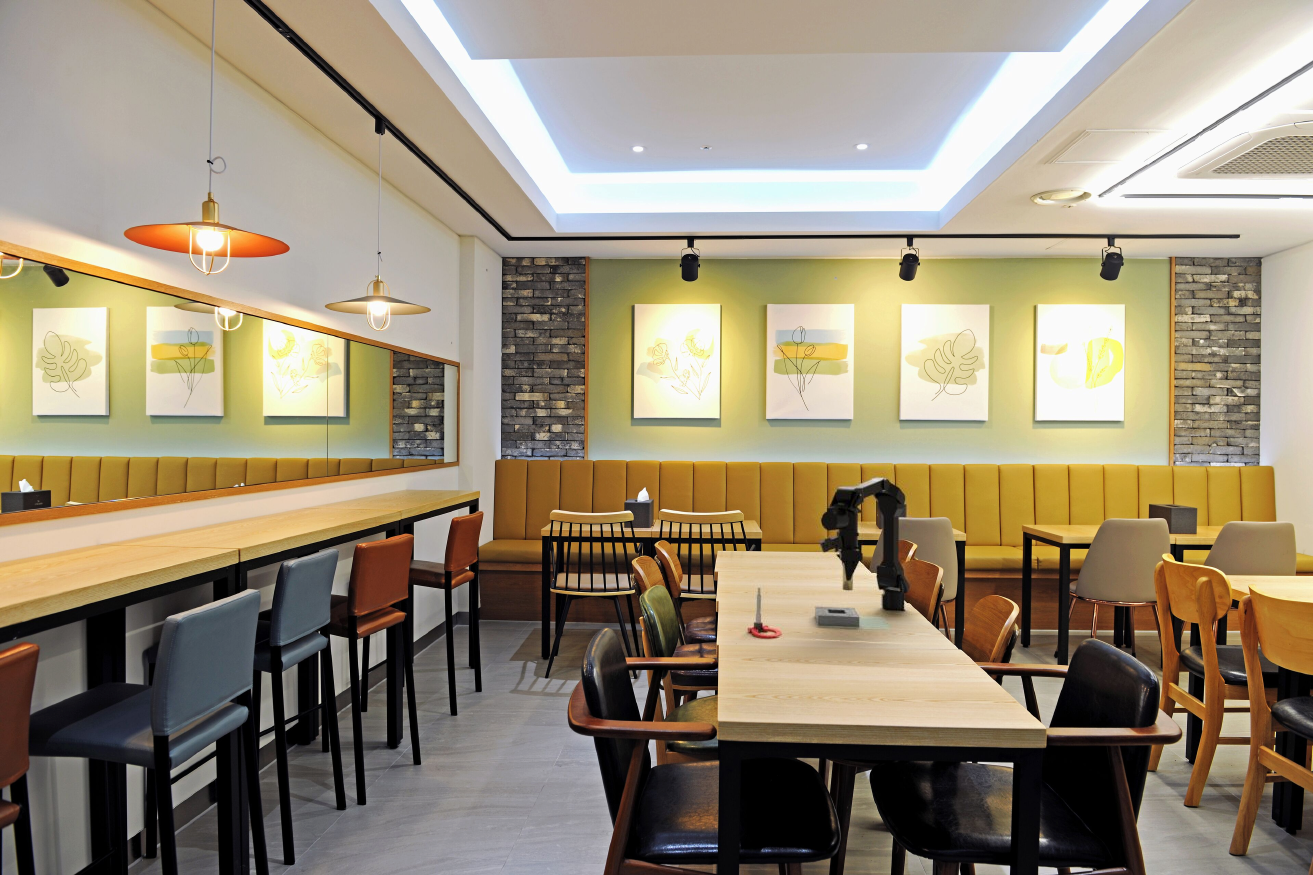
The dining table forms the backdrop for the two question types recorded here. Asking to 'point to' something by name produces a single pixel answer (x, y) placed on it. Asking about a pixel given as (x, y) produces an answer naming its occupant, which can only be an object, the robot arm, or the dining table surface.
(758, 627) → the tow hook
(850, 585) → the pin
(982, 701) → the dining table surface
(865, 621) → the mat
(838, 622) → the block
